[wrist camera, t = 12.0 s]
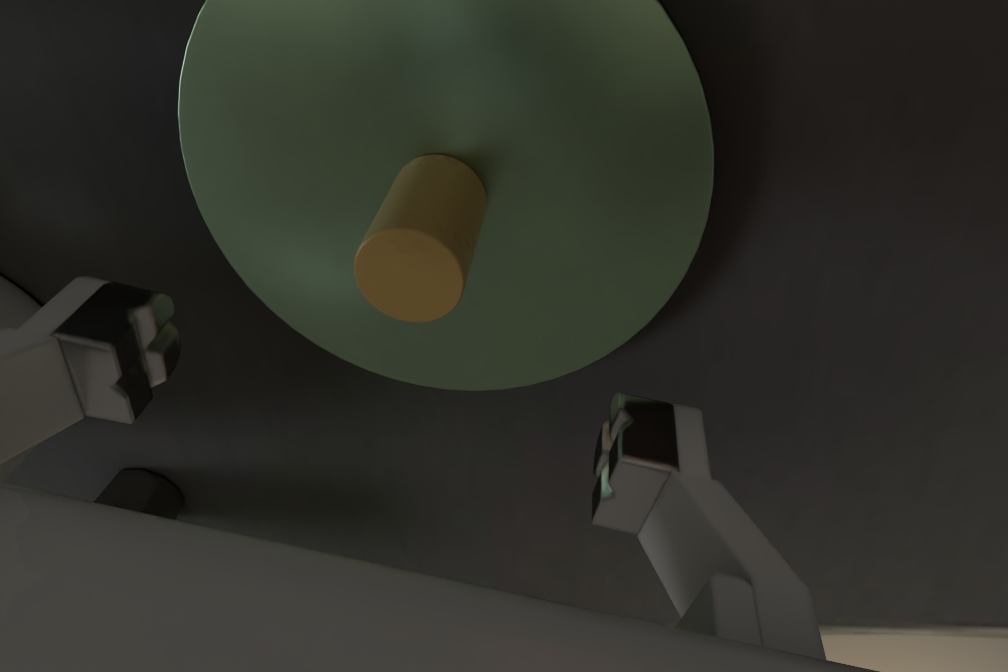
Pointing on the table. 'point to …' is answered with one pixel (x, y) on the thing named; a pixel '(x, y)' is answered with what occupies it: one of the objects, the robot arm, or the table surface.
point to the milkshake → (142, 494)
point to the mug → (12, 309)
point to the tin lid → (450, 175)
